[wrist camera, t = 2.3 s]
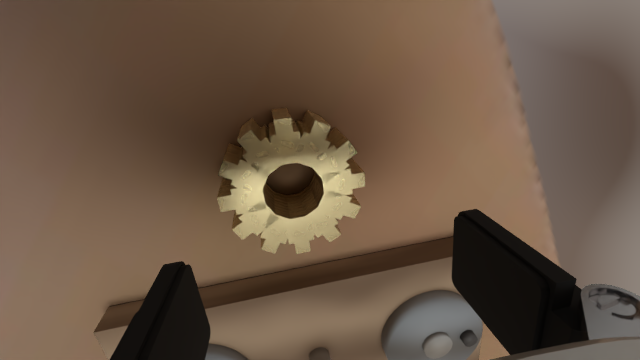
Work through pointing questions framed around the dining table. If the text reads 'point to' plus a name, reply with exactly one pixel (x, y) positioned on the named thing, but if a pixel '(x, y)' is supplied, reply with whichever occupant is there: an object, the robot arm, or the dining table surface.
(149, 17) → the dining table surface
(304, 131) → the brass gear
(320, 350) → the gear board
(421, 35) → the dining table surface
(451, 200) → the dining table surface
